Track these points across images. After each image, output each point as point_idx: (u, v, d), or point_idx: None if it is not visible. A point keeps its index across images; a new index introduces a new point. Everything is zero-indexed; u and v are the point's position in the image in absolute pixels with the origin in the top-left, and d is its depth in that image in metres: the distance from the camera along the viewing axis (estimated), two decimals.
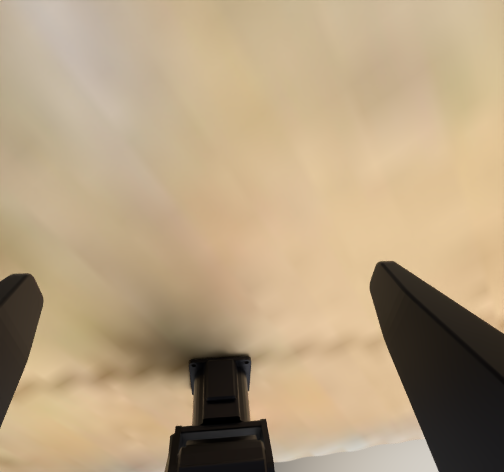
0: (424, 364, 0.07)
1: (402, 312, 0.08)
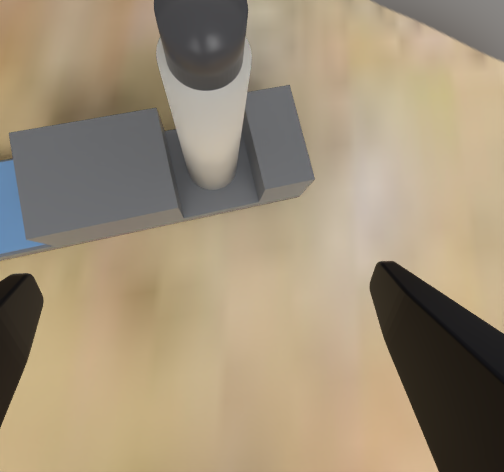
0: (424, 364, 0.07)
1: (402, 312, 0.08)
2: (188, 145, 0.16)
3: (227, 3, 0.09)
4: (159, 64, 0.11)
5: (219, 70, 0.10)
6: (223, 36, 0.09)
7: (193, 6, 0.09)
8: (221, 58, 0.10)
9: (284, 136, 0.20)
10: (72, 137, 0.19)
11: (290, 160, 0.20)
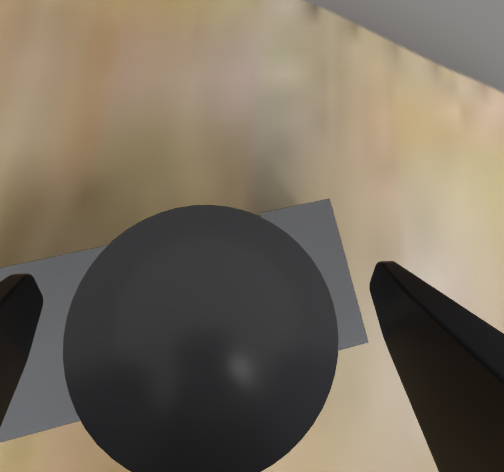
0: (424, 364, 0.07)
1: (402, 312, 0.08)
2: None
3: (280, 317, 0.03)
4: None
5: None
6: (270, 434, 0.03)
7: (182, 337, 0.03)
8: None
9: (323, 276, 0.14)
10: None
11: None
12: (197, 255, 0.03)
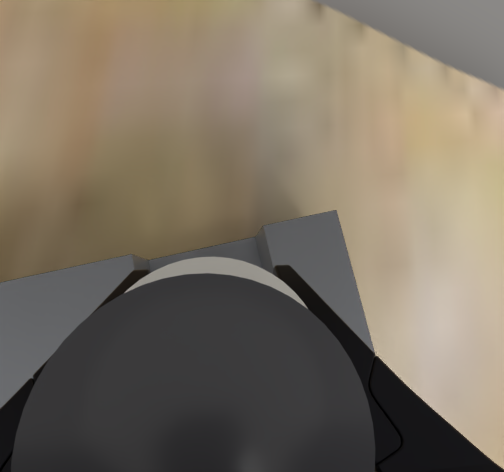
0: None
1: None
2: None
3: (301, 424, 0.03)
4: None
5: None
6: None
7: (171, 453, 0.02)
8: None
9: (329, 293, 0.13)
10: None
11: None
12: (191, 341, 0.03)
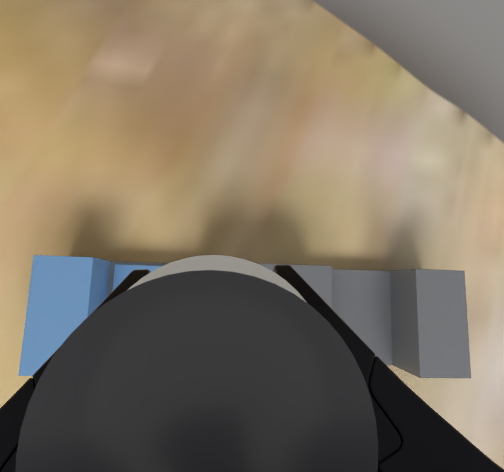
0: None
1: None
2: None
3: (302, 419, 0.03)
4: None
5: None
6: None
7: (174, 449, 0.02)
8: None
9: (449, 324, 0.19)
10: None
11: (450, 351, 0.19)
12: (194, 338, 0.03)
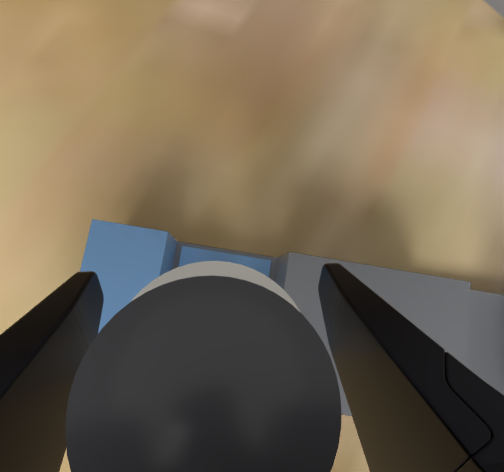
0: (358, 368, 0.07)
1: (340, 315, 0.08)
2: None
3: (283, 391, 0.03)
4: None
5: None
6: None
7: (185, 412, 0.03)
8: None
9: None
10: None
11: None
12: (200, 328, 0.03)
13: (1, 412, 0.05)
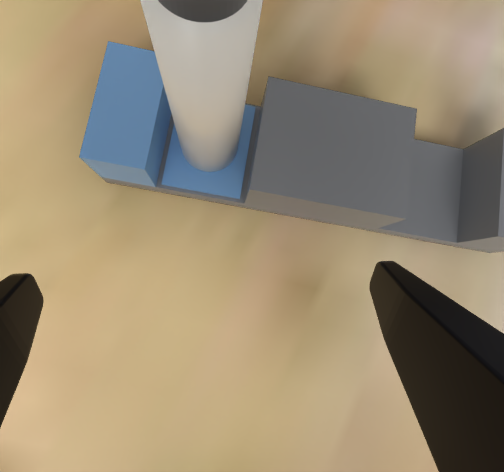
0: (424, 364, 0.07)
1: (402, 312, 0.08)
2: (180, 111, 0.13)
3: None
4: None
5: None
6: None
7: None
8: None
9: None
10: (327, 105, 0.17)
11: None
12: None
13: None
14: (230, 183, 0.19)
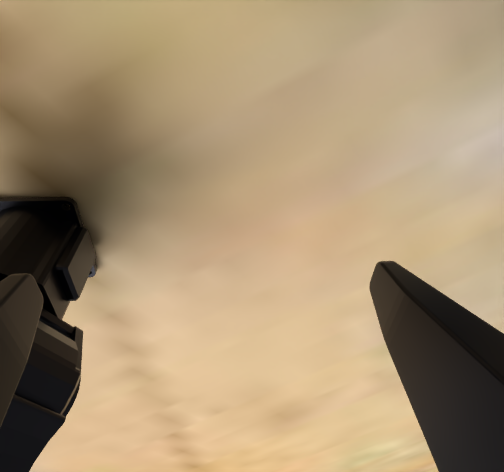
0: (424, 364, 0.07)
1: (402, 312, 0.08)
2: None
3: None
4: None
5: None
6: None
7: None
8: None
9: None
10: None
11: None
12: None
13: None
14: None
